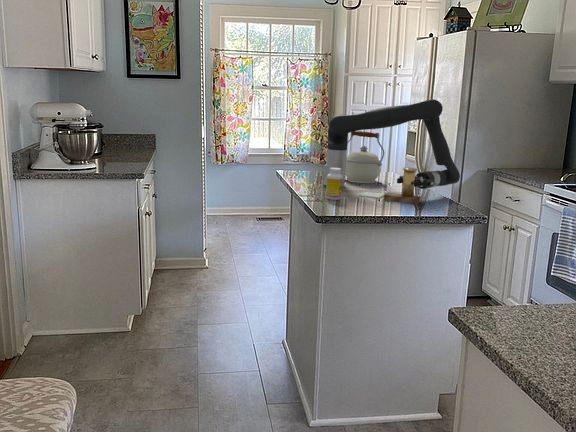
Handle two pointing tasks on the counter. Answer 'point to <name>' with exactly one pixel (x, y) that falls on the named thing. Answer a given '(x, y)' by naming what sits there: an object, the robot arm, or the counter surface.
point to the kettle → (363, 162)
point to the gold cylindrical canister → (408, 182)
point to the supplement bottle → (334, 184)
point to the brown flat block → (401, 198)
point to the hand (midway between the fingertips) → (406, 182)
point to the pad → (372, 195)
